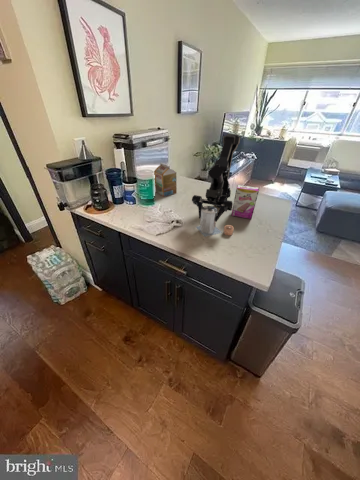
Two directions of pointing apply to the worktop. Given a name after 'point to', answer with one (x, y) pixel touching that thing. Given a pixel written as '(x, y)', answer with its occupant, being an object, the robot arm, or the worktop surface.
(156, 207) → the worktop surface
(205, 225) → the white can
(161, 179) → the milk carton
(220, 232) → the slate mat
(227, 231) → the orange rounded ball
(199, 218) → the robot arm
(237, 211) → the candy bar box
